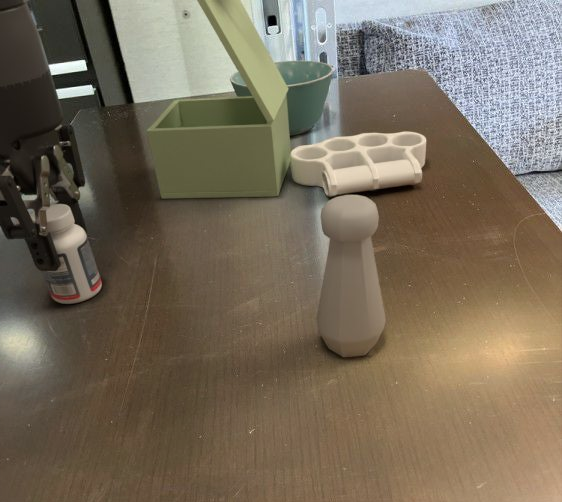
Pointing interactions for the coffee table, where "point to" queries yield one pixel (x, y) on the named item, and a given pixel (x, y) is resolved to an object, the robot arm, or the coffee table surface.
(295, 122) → the bowl
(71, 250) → the pill bottle
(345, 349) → the salt shaker
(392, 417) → the coffee table surface
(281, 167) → the bin
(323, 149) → the knuckle duster
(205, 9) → the bin lid
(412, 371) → the coffee table surface
